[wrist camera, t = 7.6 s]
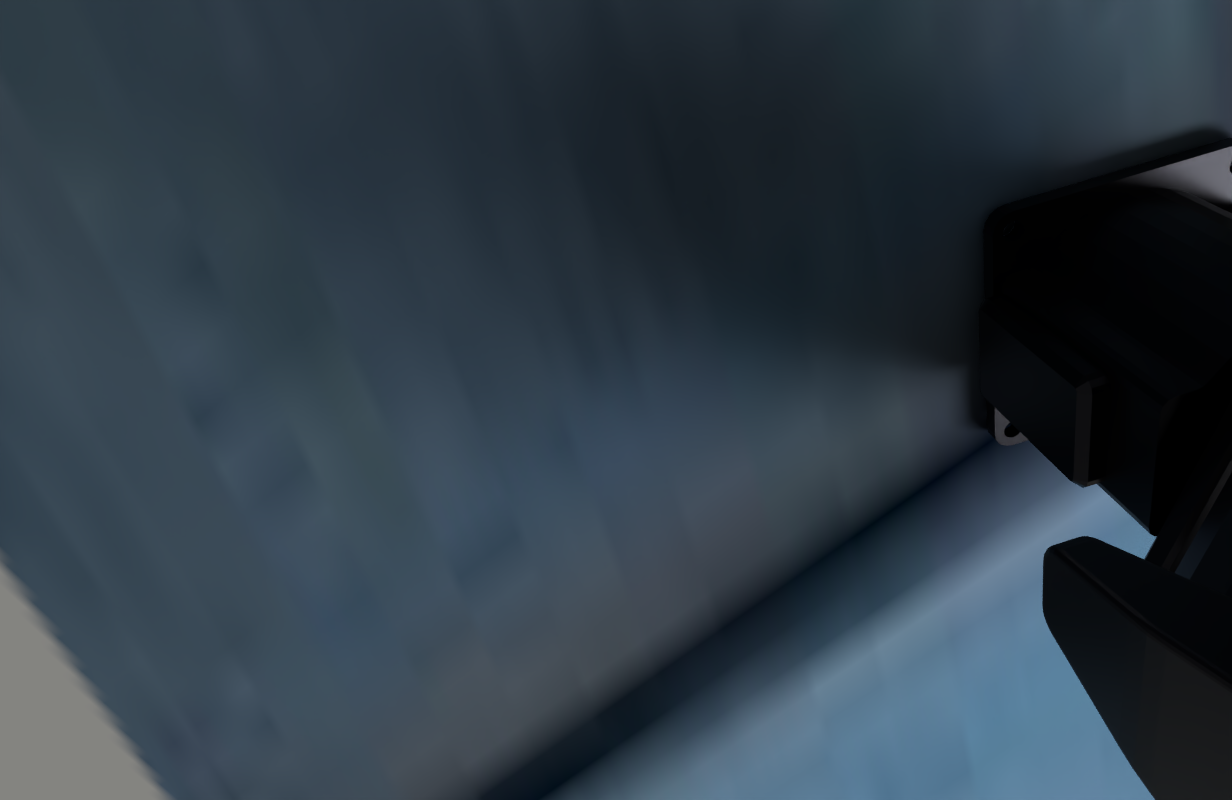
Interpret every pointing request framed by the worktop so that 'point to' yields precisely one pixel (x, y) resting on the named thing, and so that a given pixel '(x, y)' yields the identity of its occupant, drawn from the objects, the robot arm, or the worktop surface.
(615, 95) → the worktop surface
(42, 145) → the worktop surface
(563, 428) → the worktop surface
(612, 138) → the worktop surface
